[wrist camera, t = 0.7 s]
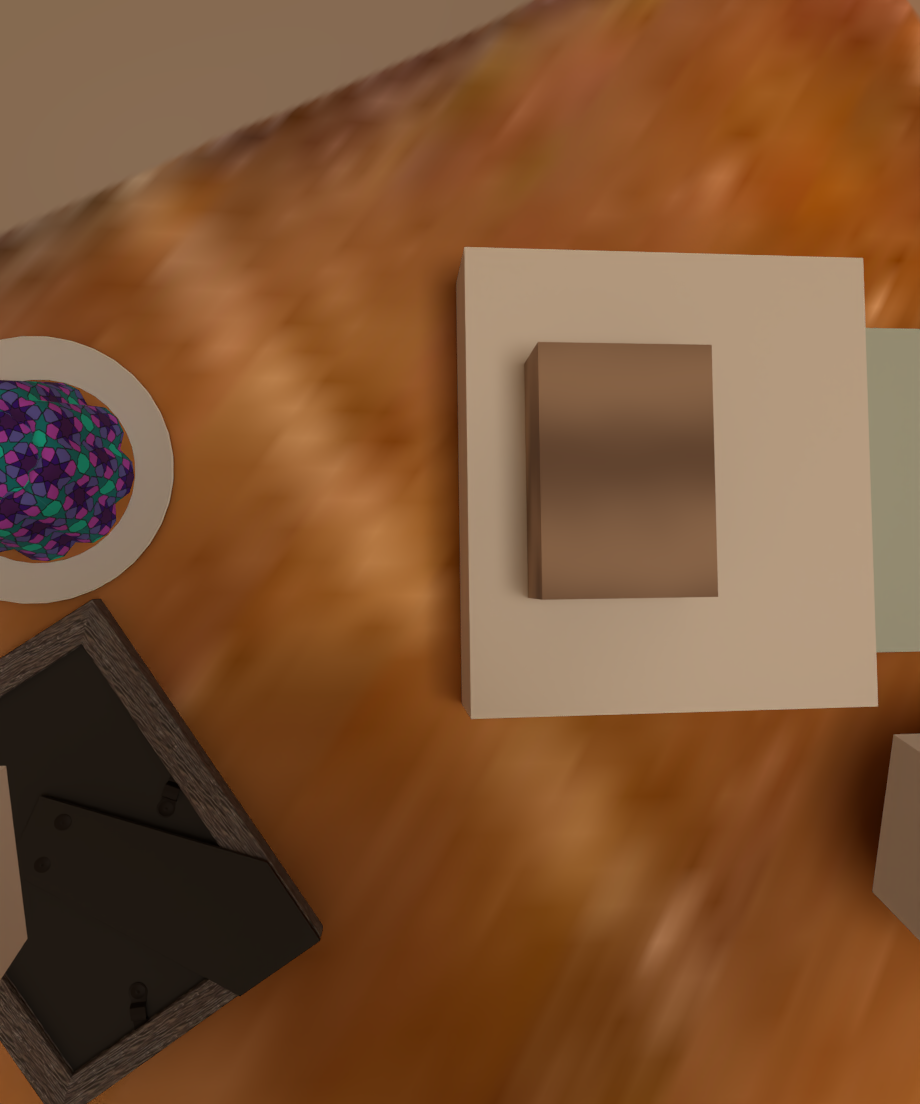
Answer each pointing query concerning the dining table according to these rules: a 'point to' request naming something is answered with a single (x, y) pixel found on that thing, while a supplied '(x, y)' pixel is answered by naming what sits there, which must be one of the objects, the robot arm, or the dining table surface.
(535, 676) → the cream flat block
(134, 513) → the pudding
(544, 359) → the walnut block
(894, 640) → the mat
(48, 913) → the picture frame
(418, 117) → the dining table surface
